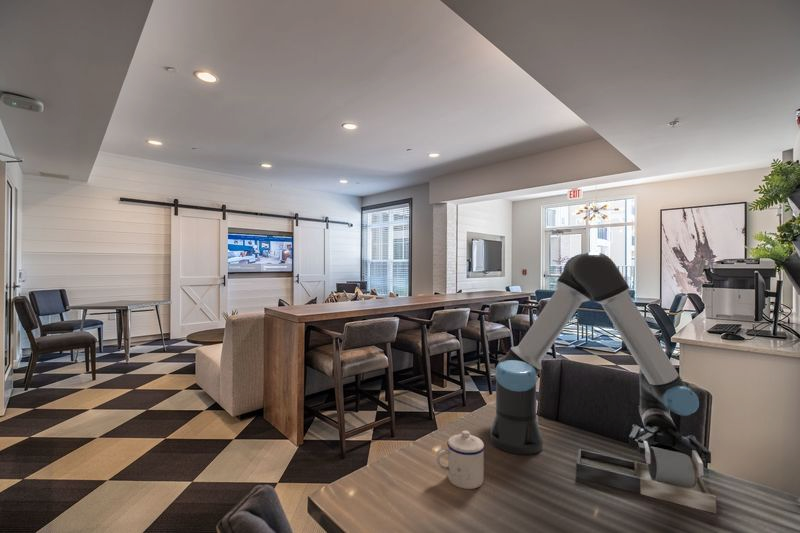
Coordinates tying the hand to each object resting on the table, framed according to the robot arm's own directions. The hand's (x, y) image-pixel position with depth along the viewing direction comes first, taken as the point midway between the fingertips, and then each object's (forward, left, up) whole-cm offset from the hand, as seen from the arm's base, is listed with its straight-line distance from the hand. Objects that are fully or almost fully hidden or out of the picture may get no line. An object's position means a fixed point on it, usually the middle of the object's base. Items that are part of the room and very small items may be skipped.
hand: (673, 463), depth 80 cm
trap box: (-7, +5, -8) cm, 11 cm away
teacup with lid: (-45, -18, -8) cm, 49 cm away
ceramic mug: (-1, +5, -7) cm, 8 cm away
